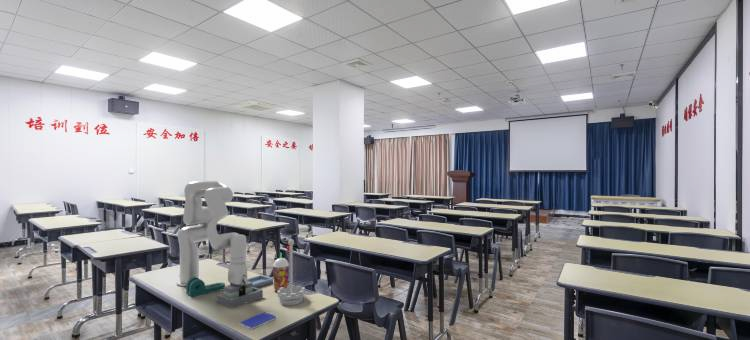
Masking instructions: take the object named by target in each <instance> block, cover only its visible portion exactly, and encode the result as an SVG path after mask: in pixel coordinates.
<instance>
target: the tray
mask: <svg viewBox="0 0 750 340" xmlns="http://www.w3.org/2000/svg"><path fill="white" fill-rule="evenodd" d="M247 281H249V282H252V283H253V287H255V288H258V289H260V288H262V287H265V286H267V285H271V284H274V277H269V276H267V275H262V274H260V275H256V276H253V277H249V278H247Z"/></svg>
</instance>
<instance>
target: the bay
mask: <svg viewBox="0 0 750 340" xmlns="http://www.w3.org/2000/svg"><path fill="white" fill-rule="evenodd" d="M263 295H264V293H263V290H262V289H260V288H255V287H253V292H252V293H249V294H246V295H243V296H240V297H237V298H234V299H230V298H227V297H225V296H224V295H221V294H216V302H217V304H218V303H219V304H221V305H222V306H223V305H224V306H226V307H228V308H231V309H233V308H235V307H236V308H237V307H238V306H241V305H244V304H247V303H250V302H253V301H256V300H259V299H261V298H263Z"/></svg>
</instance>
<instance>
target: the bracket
mask: <svg viewBox="0 0 750 340" xmlns="http://www.w3.org/2000/svg"><path fill="white" fill-rule="evenodd" d="M225 286H226V284H225V282H215V283H211V284H206V283H205V282H204V281H203V279H202V280H200V279H199V278H197V277H193V278H191V279H189V280H188V282H187V285H186V286H185V287H186V294H187V295H188V296H189V298H192V297H196V296H201V295H207V294H209V293H213V292H218V291H222V290H224V287H225Z"/></svg>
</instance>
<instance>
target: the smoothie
mask: <svg viewBox="0 0 750 340" xmlns="http://www.w3.org/2000/svg"><path fill="white" fill-rule="evenodd" d="M279 255H280V257H279V258H277V259H275V261H274V262H273V264H272V272H273V288H274V290H275V292H276V293H277V290H279V288H281V287H284V289H285V288H287V286H289V275H290V262H289V261H288V260H287V259H286V258H285V257H282V255H283V254H282V252H280V254H279Z"/></svg>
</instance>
